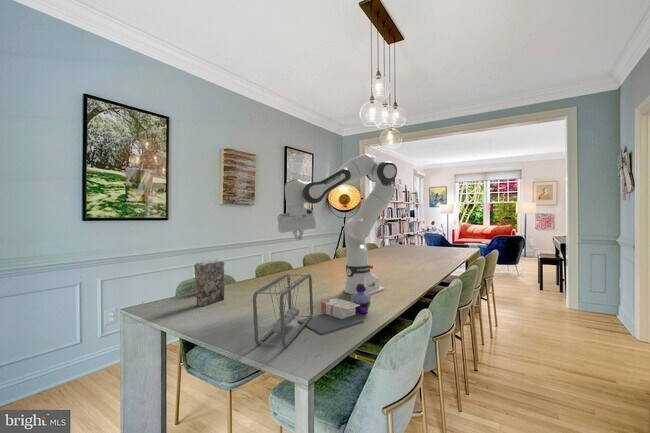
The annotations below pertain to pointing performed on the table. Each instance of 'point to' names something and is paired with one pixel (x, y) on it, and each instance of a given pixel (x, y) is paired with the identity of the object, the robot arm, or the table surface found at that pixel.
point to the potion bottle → (361, 299)
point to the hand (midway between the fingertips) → (298, 239)
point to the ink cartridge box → (338, 308)
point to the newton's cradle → (283, 309)
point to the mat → (329, 323)
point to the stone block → (209, 282)
